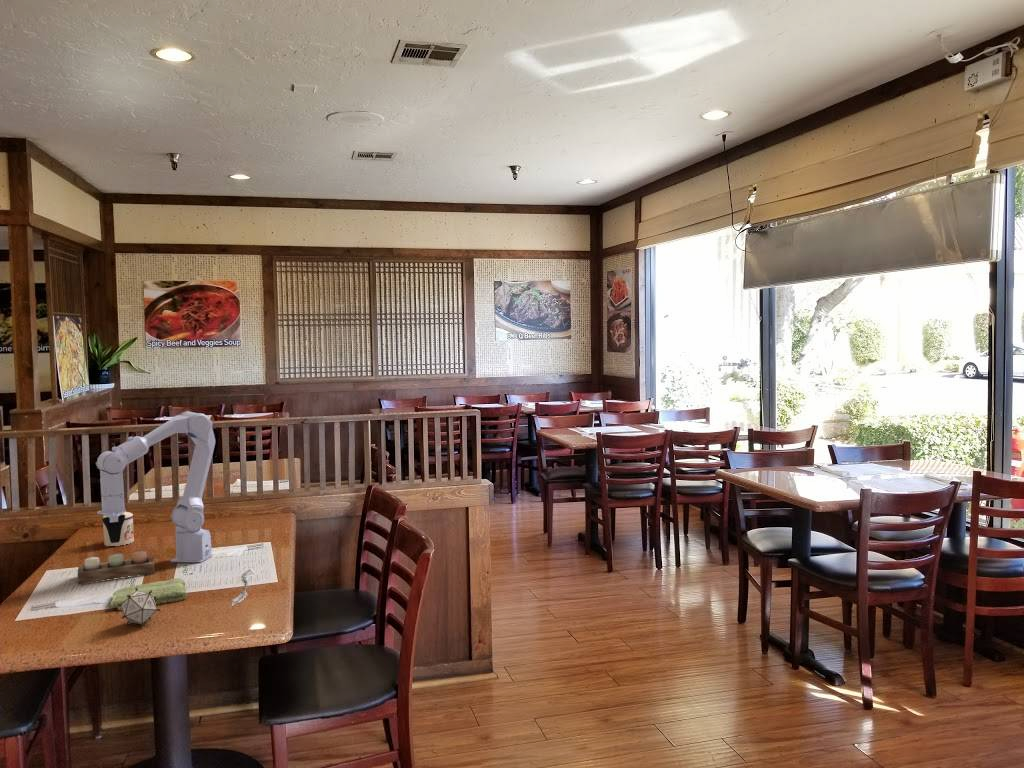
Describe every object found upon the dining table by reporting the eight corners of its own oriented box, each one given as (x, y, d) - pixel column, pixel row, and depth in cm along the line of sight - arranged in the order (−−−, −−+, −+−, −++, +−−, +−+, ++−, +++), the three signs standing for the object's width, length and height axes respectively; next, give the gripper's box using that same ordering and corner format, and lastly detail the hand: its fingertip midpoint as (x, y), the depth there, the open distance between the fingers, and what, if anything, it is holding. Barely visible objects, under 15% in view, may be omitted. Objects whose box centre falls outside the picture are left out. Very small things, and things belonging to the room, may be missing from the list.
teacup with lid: (130, 546, 252) (128, 510, 251) (99, 548, 250) (97, 511, 249) (140, 536, 264) (138, 501, 263) (110, 538, 262) (108, 503, 261)
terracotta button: (146, 558, 227) (146, 550, 227) (147, 562, 224) (146, 553, 224) (132, 560, 226) (132, 552, 225) (133, 563, 222) (132, 555, 222)
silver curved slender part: (228, 609, 195) (249, 606, 196) (228, 606, 195) (248, 604, 196) (237, 570, 226) (255, 568, 227) (237, 568, 226) (255, 566, 227)
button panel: (153, 566, 230) (152, 556, 230) (154, 573, 223) (154, 563, 223) (79, 576, 222) (78, 565, 221) (78, 584, 214) (77, 573, 214)
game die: (135, 637, 186) (129, 597, 191) (169, 623, 187) (163, 584, 191) (114, 632, 178) (108, 590, 183) (149, 617, 179) (143, 576, 183)
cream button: (99, 565, 222) (99, 556, 222) (99, 568, 219) (99, 559, 218) (85, 567, 220) (84, 558, 220) (84, 570, 217) (84, 561, 217)
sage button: (123, 561, 224) (122, 553, 224) (123, 565, 221) (123, 556, 221) (109, 563, 223) (108, 555, 223) (109, 567, 220) (108, 558, 219)
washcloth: (111, 597, 205) (111, 585, 204) (185, 587, 212) (184, 575, 212) (110, 614, 193) (109, 601, 193) (188, 602, 201) (187, 589, 200)
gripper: (96, 491, 225) (99, 538, 226) (96, 501, 212) (98, 550, 213) (124, 488, 228) (126, 534, 229) (125, 498, 216) (127, 546, 217)
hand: (115, 542), depth 222 cm, fingers closed
